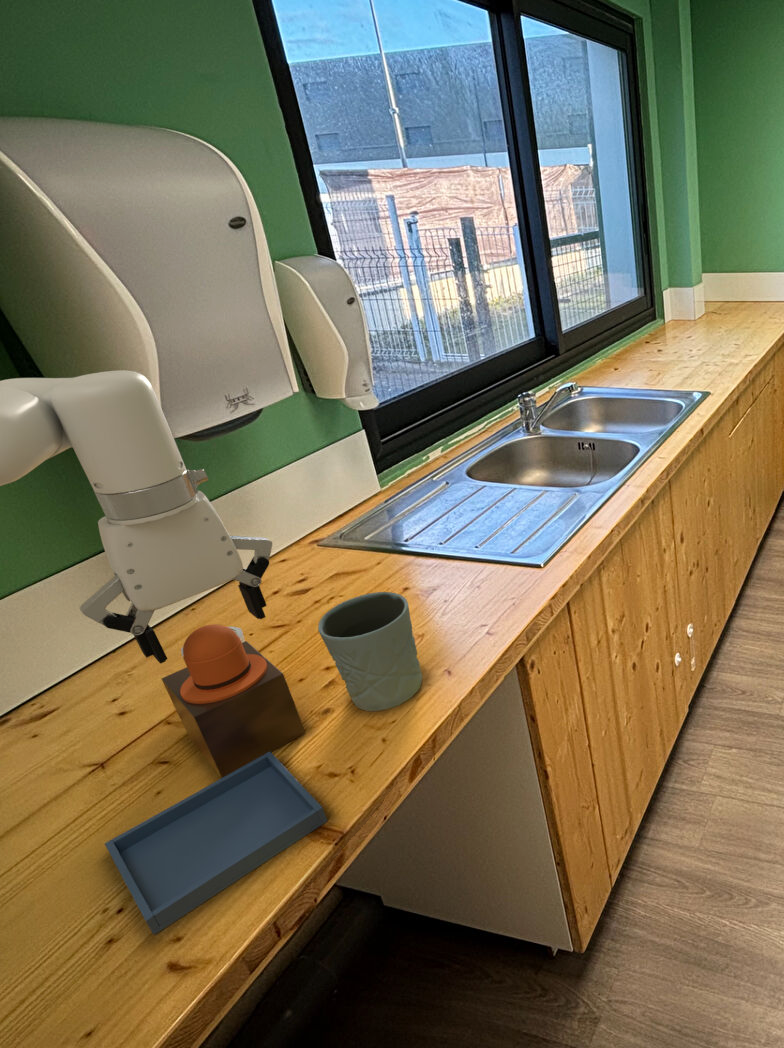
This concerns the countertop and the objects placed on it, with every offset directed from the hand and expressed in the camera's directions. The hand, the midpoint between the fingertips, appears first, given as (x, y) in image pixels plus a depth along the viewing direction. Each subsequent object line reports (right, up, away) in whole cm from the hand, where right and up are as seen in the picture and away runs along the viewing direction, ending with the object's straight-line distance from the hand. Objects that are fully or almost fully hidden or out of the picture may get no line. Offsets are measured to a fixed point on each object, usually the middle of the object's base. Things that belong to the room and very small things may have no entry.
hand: (210, 635), depth 78 cm
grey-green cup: (+13, -10, +14) cm, 21 cm away
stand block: (0, -13, +7) cm, 15 cm away
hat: (0, -5, +2) cm, 6 cm away
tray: (+6, -19, -7) cm, 22 cm away
